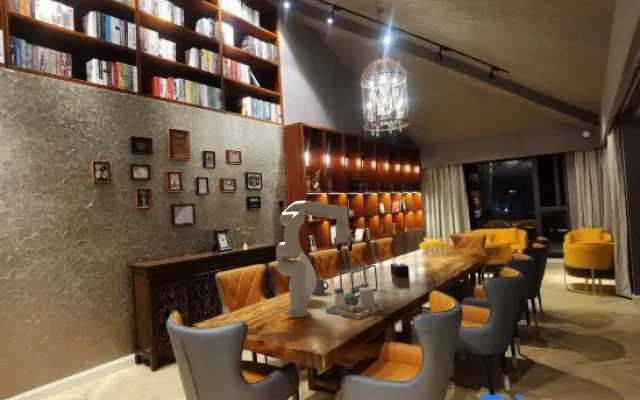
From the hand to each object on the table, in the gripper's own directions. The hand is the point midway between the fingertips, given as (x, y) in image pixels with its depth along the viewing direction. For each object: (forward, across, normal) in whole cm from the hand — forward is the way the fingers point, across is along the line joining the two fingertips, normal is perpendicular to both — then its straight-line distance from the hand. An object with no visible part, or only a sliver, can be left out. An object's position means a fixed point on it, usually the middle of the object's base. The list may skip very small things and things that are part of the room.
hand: (344, 250), depth 269 cm
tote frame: (+31, +17, -28) cm, 45 cm away
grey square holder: (+31, +14, -16) cm, 38 cm away
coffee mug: (+31, -27, +1) cm, 41 cm away
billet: (+31, +17, -28) cm, 45 cm away
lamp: (+31, -21, -19) cm, 42 cm away
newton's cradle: (+32, 0, +13) cm, 34 cm away
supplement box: (+31, +30, -19) cm, 47 cm away
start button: (+29, +14, -16) cm, 36 cm away
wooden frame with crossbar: (+31, +30, -24) cm, 50 cm away
